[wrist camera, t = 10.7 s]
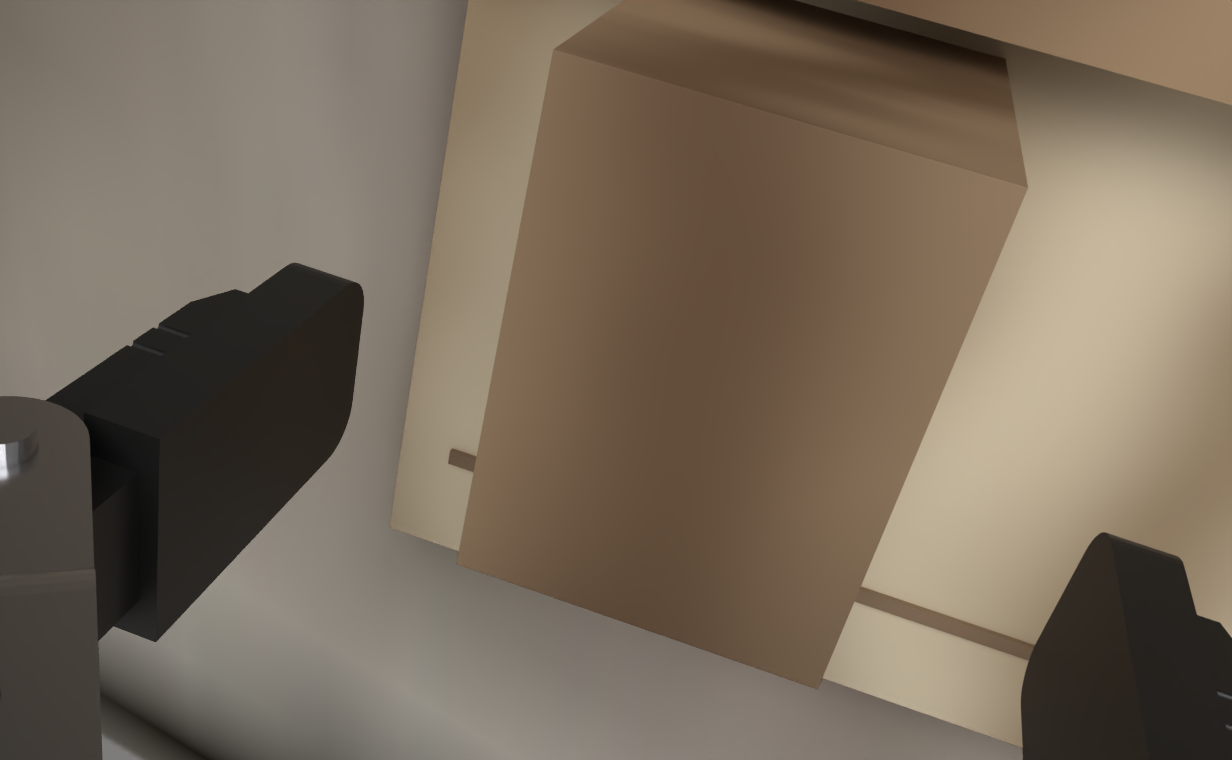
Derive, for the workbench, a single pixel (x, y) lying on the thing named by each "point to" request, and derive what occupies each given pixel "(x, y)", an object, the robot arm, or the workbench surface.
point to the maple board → (992, 350)
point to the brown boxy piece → (735, 315)
